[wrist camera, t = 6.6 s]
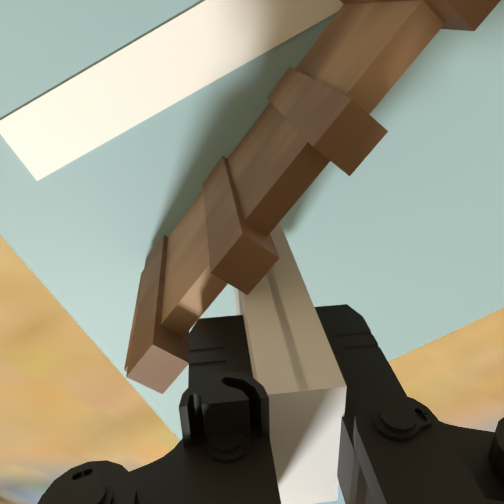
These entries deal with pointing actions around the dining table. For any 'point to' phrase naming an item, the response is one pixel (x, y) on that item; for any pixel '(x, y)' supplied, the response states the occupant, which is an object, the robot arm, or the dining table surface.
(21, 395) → the dining table surface
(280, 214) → the fence panel
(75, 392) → the dining table surface
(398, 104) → the board
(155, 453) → the dining table surface
